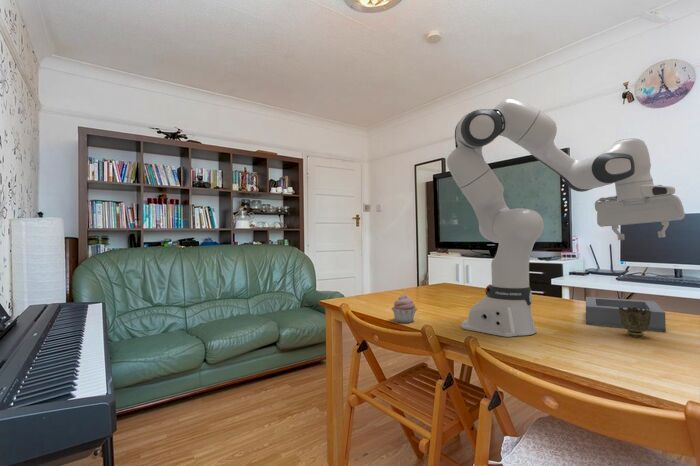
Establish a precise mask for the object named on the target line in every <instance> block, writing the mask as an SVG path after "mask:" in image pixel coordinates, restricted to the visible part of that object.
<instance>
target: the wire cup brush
mask: <svg viewBox="0 0 700 466" xmlns="http://www.w3.org/2000/svg"><path fill="white" fill-rule="evenodd" d="M619 314H620V319H621V323H622V326H623V327H624V328H623V329H625V330H626V331H627V332H626V333H627V335H628V336H630V337H632V338H633V337H634V338H642V337H643V336H644V332H646V331H648V330H647V329H648V328H649V324H650V317H651V311H649V310H646V309H645V310H644V311H643V310H642V309H641V308H640V309H637V308H635V307H633V308H630V307H628V308H627V310H626V309H625V310H624V309H623V307H622V308H621V307H619Z"/></svg>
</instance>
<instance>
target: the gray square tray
mask: <svg viewBox="0 0 700 466" xmlns="http://www.w3.org/2000/svg"><path fill="white" fill-rule="evenodd" d="M619 307H621V308H622V307H623V309H624V310H625V309H626V310H627V308H628V307H630V308H633V307H635V308H637V309H640V308H641V309H642V310H643V311H644V310H645V309H646V310H649V311H651V317H650V324H649V328H648V329H647V330H646V331H649V332H660V333H667V330H666V329H667V328H666V326H667V323H666V311H664V310H663V309H662V308H661V306H660V305H659V304H658V303H657V302H656V301H655V300H640V299H628V298H627V299H626V298H624V299H623V298H609V297H596V296H595V297H593V296H585V322H586V325H589V326H590V325H591V326H598V327H599V326H602V327H611V328H622V329H625V328H624V327H623V326H622V323H621V319H620V314H619Z"/></svg>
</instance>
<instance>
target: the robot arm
mask: <svg viewBox="0 0 700 466" xmlns="http://www.w3.org/2000/svg"><path fill="white" fill-rule="evenodd" d="M557 131H558V128H557V123H556V121H555V120H554V119H553V118H552V117H551V116H550V115H548V114H547V113H546V112H544V111H542V110H540V109H538V108H537V107H534V106H533V105H531V104H528V103H526V102H524V101H521V100H518V99H515V98H505V99H503V100H501V101H500V102H499V103H497V104H496V106H495V107H494V108H480V109H475V110H473V111H472V110H471V112H469V113H467V114H464V115H463V116H462V117H461V119H460V120H459V121H458V122H457V124H456V126H455V129H454V142H455V148H454V149H453V150H452V151H451V152H450V154H448V157H447V159H446V166H447V168H448V170H449V173H450V174H451V177H452V179H453V181H454V182H455V183H456V185H457V186H458V188H459V189H460V191H461V192H462V193H463V195H464V196H465V198H466V200H467V201H468V203H469V204H470V205H471V207H472V210H473V211H474V214H475V216H476V218H477V220H478V230H479V233H480V236H482V238H484V239H485V240H487V241H490V242H492V243H494V244H495V243H497V244H498V246H497V250H496V254H495V256H494V257H493V258H492V261H491V264H490V266H491V267H490V269H491V270H490V271H491V284H488V285H487V286H486V287H485V289H484V290H485V291H484V292H485V297H483V298H481V299H480V300H479V301H477V302H476V303H475V304H474V305H472V306H471V307H470V310H469V312H468V317H467V319H464V320H462V322H461V325H460V326H461V328H462V329H463V330H466V331H473V332H478V333H484V334H488V335H494V336H500V337H506V338H511V337H512V338H513V337H517V336H530V335H534V334H535V333H537V329H536V326H535V322H534V319H533V313H532V306H531V305H532V302H533V299H532V296H533V295H532V287H531V286H530V260H531V254H532V252H533V248H534V245H535V243H536V242H537V240H538V239H539V238H540V237H541V236H542V234H543V232H544V229H545V228H544V227H545V224H544V220H543V217H542V216H541V214H540V213H539V212H537V211H535V210H533V209H528V208H523V207H515V208H511V209H510V208H509V207H508V205H507V204H506V201H505V198H504V191H505V188H504V186H503V184H502V183H501V181H500V180H499V178H498V177H497V175H496V174H495V172H494V171H493V170H492V169H491V167H490V166H489V164H488V163H487V161H486V160H485V158H484V155H483V147H484V146H486V145H488V144H491V143H492V142H493V141H494V140H496V138H498V137H499V136H501V137H503V138H507V139H508V140H509V141H511V142H512V143H514V144H516V145H518V146H519V147H522V148H523V149H525V151H527V152H529V154H530V155H531V156H532V157H533V158H535V159H536V160H537V161H538V162H540V163H542V164H543V165H545V166H546V167H547V168H549V169H550V170H552V171H553V172H554V173H556V174H557V175H559V176H560V177H561V178H562V180H563V181H564V182H565V184H566V185H567V187H569V188H570V189H572V190H573V191H576V192H579V193H580V192H581V193H583V192H588V191H590V190H592V189H596V188H602V187H605V186H609V185H613V184H614V185H615V186H614V187H615V195H613V196H607V197H600V198H599V199H597V200H596V201H595V202H594V209H595V212H596V223H597V225H598V226H599V227H601V228H603V227H604V228H605V227H611V230H612V231H613V232H614V233H615V234H616V235H617V241H625V233H620V231H619V228H620V227H619V226H626V225H627V226H628V225H636V224H647V223H659V222H661V225H662V226H663V227H662V229H661V230H659V231H657V237H658V238H666V231H667V229H668V228H669V225H670V222H671V221H681V220H683V219H684V218H685V217H686V214H685V213H686V212H685V209H684V206H683V203H682V200H681V199H680V196H679V197H678V195H675V193H676V188H675V187H674V186H669V185H662V184H657V185H655V184H654V180H653V177H652V175H651V167H652V165H651V157H650V152H649V149H648V146H647V144H646V143H645V141H644V140H643V139H639V138H626V139H624V138H623V139H621V140H620V139H619V140H617V141H615V142H613V143H612V145H611V146H610V147H608V148H607V149H605V150H604V151H602V152H599V153H598V154H596V155H593V156H591V157H588V158H585V159H575V158H574V157H572V156H570V155H569V154H567V153H566V152H564V151H563V150H562V149H560V148H559V147H558V146H556V144H555V142H554V140H555V139H556V135H557Z"/></svg>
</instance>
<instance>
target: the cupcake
mask: <svg viewBox="0 0 700 466" xmlns="http://www.w3.org/2000/svg"><path fill="white" fill-rule="evenodd" d="M393 304H394V306H393V307H391V311H392V312H393V315H394V316H393V317H394V319H395V320H394V321H396V322H397V323H399V324H400V323H401V324H409V323H413V322H414V318H415V314H416V312H417V310H418V308H417V307H416V305H415V302H413V299H411V298H410V297H409V296H407V295H406V293H404V294H402V295H400V296H399V297H398V298H397V300H395V301H394V303H393Z"/></svg>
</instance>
